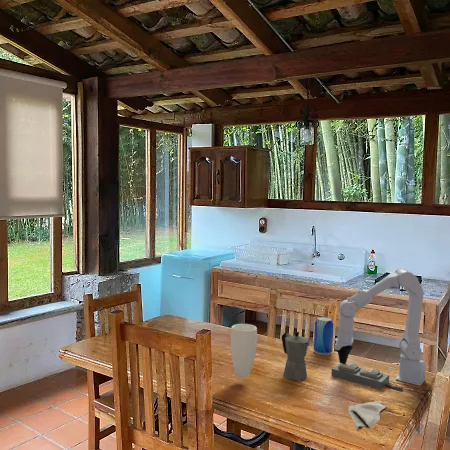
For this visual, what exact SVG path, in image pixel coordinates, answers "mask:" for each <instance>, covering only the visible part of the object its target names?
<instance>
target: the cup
mask: <svg viewBox="0 0 450 450" xmlns="http://www.w3.org/2000/svg"><path fill="white" fill-rule="evenodd" d="M230 329H231V330H230V331H231V332H230V356H231V361H232V366H233V370H234V372H235V375H236V376H237V377H239V378H248V377H249V376H250V374H251V371H252V368H253V366H254V364H255V359H256V355H257V347H258V346H257V344H258V336H257V335H258V328H257V326H256V325H253V324H250V323H249V324H248V323H236V324H233V325H232V326H231V328H230Z"/></svg>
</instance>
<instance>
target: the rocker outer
mask: <svg viewBox="0 0 450 450" xmlns="http://www.w3.org/2000/svg"><path fill="white" fill-rule="evenodd" d="M341 367H345V368H349V369H354V370H355V369H356V368H357V367H359V364H355V363H351V362H346V363H345V364H341Z"/></svg>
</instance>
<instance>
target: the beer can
mask: <svg viewBox="0 0 450 450" xmlns="http://www.w3.org/2000/svg"><path fill="white" fill-rule="evenodd" d="M313 335H314V336H313V351H314V352H315V354H316V353H317V355H320V356H329V355H331V354H332V352H333V344H334V343H333V341H334V323H333V321H332V318H331V317H327V316H318V317H317V318H316V320H315V322H314V334H313Z"/></svg>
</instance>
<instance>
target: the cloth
mask: <svg viewBox="0 0 450 450" xmlns="http://www.w3.org/2000/svg"><path fill="white" fill-rule="evenodd" d="M382 402H383V401H381V400H374V401H372V402H371V401H368V402H364V403H358V404H355V405H351V406H350V405H349V406H348V407H347V408H348V413H349V416H350V418H351V420H352V422H353V423H354V426H355V427H356V430H357V431H359V428H360V427H361V428H363V427H365V426H368V428H369V429H370V428H372V427H373V426H374V425H376V424H377V423H378V422H379V421H380V419H381V415H380V412H381V411H383V410H384V409H386V408H387V406H385V405H384V404H382Z"/></svg>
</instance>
